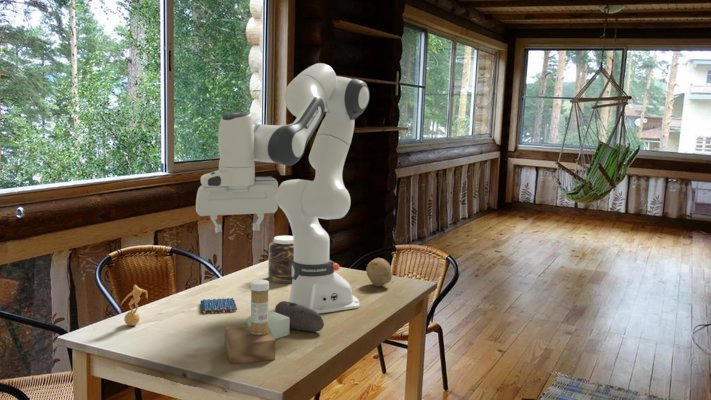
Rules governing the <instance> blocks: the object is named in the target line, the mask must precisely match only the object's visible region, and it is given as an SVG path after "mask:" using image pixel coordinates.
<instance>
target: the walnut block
mask: <svg viewBox="0 0 711 400" xmlns="http://www.w3.org/2000/svg"><path fill="white" fill-rule="evenodd" d="M268 330H269V332H268V333H267V334H266V335H262V336H258V335H253V334H252V333H251V326H248V325H247V326H246V325H245V326H237V327H224V348H225V353H226V355H227V359H228V363H229V364H230V365H231V364H240V363H241V364H242V363H252V362H253V363H254V362H261V361H271V360H272V361H273V360H274V361H275V360H276V339H274V337H273V335H272V333H271V331H270V329H269V327H268Z"/></svg>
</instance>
